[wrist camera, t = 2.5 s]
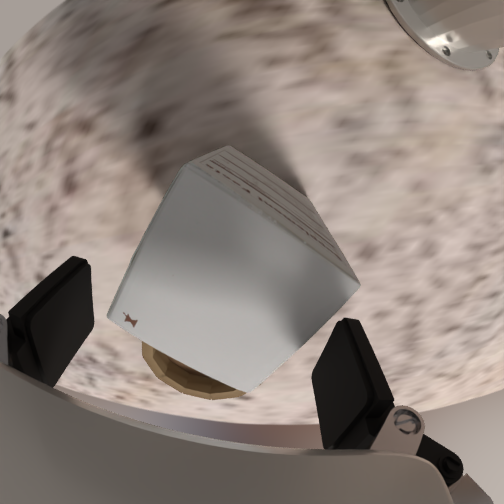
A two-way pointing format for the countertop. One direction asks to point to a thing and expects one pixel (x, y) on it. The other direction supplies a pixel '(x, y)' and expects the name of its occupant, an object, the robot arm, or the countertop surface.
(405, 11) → the robot arm
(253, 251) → the supplement box
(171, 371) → the coaster tray
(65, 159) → the countertop surface
